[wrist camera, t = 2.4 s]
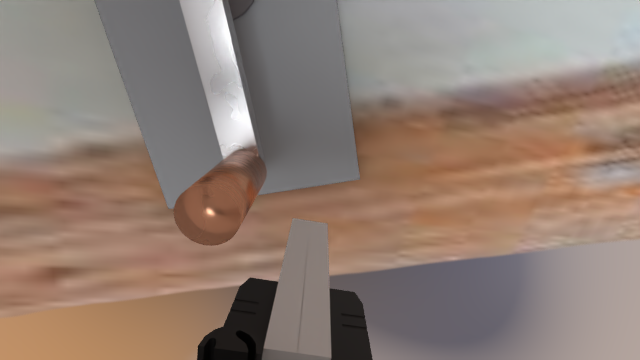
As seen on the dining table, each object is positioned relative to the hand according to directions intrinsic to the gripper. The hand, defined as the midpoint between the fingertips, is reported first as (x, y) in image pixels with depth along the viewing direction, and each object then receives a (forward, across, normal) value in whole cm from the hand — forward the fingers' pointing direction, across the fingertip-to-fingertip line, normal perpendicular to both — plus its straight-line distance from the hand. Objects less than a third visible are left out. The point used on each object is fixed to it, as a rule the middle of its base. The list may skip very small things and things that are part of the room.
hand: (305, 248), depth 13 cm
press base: (+14, -8, +9) cm, 18 cm away
